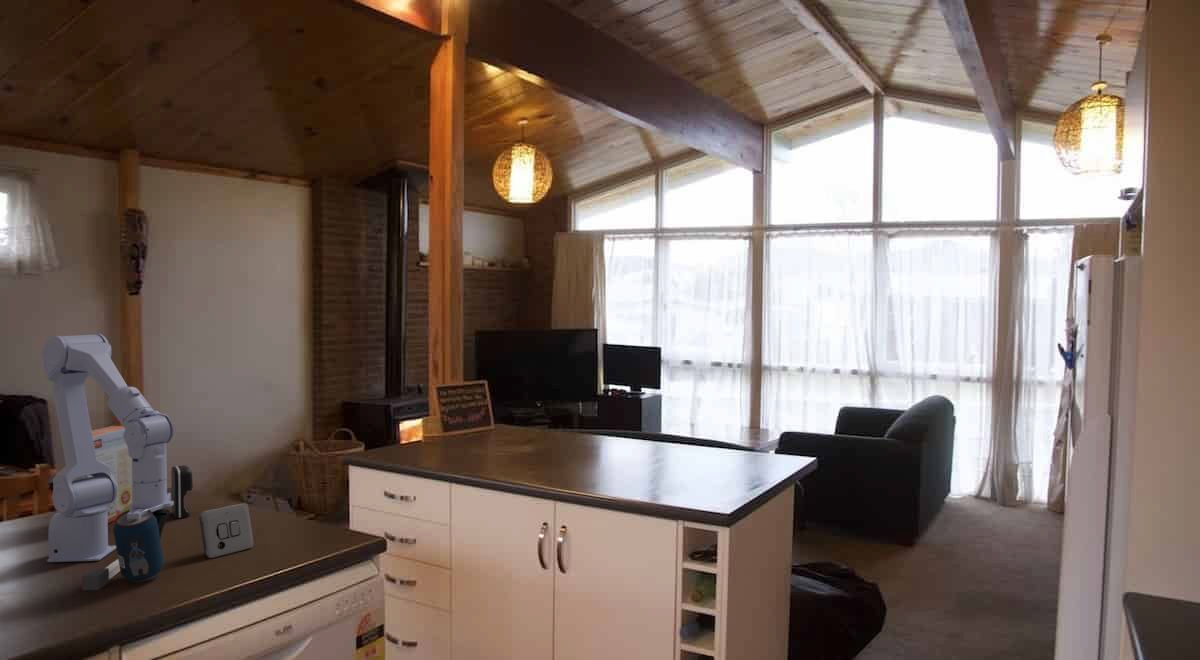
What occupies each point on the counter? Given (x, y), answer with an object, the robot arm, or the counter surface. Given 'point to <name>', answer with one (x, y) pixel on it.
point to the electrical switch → (226, 530)
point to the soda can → (138, 547)
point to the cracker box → (115, 466)
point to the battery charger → (180, 489)
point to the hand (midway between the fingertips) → (150, 550)
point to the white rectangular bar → (99, 576)
